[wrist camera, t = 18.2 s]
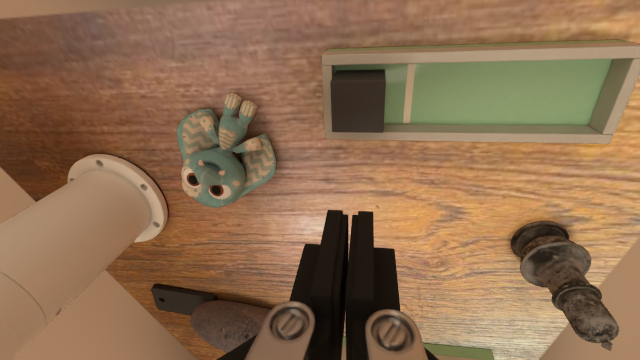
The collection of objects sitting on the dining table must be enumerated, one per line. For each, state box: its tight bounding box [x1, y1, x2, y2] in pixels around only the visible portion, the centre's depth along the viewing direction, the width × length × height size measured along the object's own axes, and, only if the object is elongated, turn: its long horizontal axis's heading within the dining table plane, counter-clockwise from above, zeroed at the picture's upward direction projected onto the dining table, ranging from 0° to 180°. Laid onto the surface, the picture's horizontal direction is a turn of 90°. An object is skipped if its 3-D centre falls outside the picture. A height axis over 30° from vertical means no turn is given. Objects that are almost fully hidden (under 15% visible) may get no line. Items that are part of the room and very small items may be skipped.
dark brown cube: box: [330, 69, 386, 133], centre depth 25 cm, size 4×4×4 cm
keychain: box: [151, 285, 217, 315], centre depth 48 cm, size 5×1×10 cm
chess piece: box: [511, 221, 619, 350], centre depth 28 cm, size 6×6×12 cm
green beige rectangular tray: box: [321, 40, 640, 144], centre depth 26 cm, size 22×7×4 cm, turn 93°
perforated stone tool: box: [190, 300, 271, 353], centre depth 44 cm, size 15×5×7 cm, turn 75°
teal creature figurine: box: [177, 93, 276, 208], centre depth 31 cm, size 11×7×12 cm
